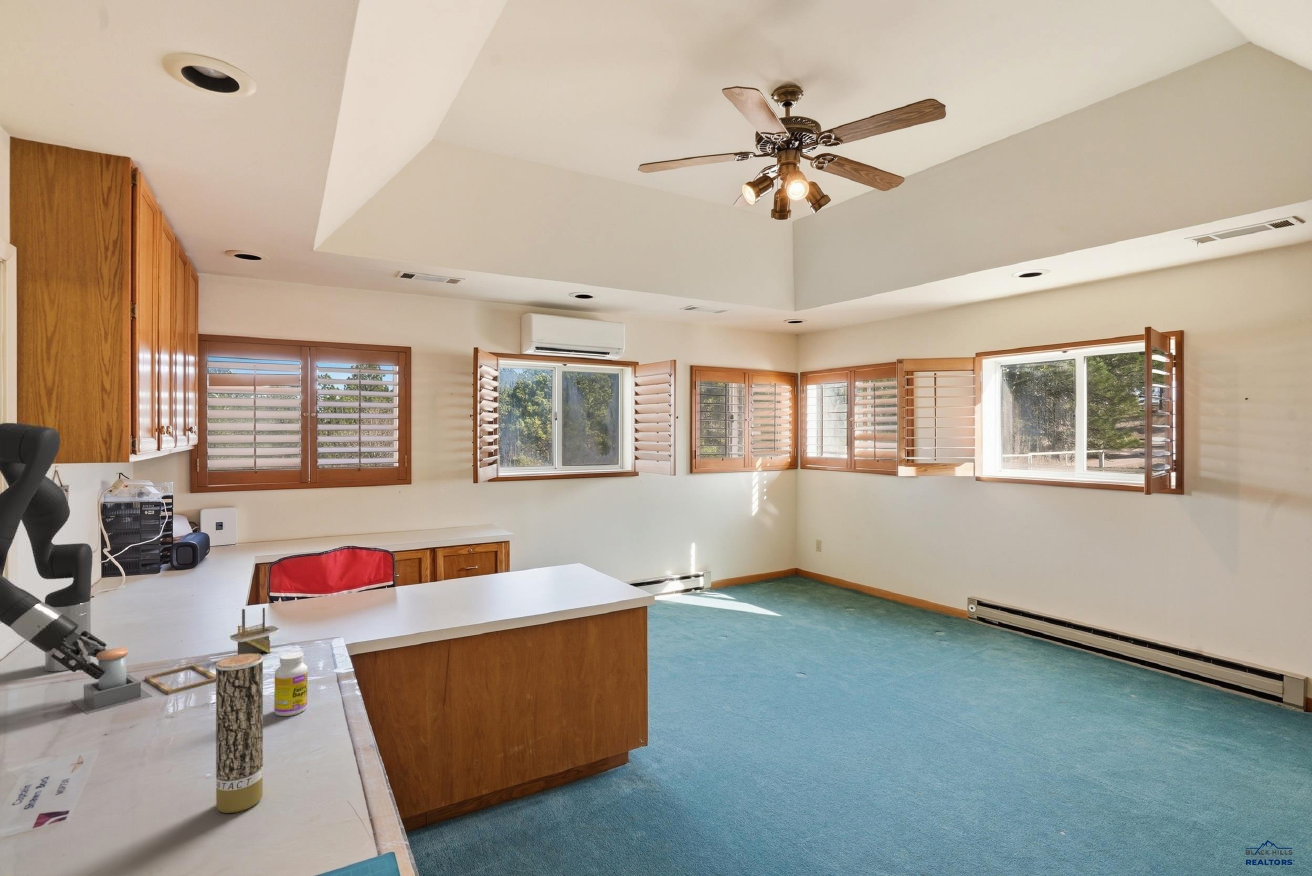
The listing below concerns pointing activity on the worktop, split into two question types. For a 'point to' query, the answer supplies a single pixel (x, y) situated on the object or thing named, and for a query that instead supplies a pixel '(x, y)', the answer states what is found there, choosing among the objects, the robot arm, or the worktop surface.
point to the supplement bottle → (290, 685)
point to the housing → (110, 696)
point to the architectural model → (254, 637)
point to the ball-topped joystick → (112, 668)
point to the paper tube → (239, 732)
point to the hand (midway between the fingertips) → (108, 669)
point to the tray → (169, 691)
